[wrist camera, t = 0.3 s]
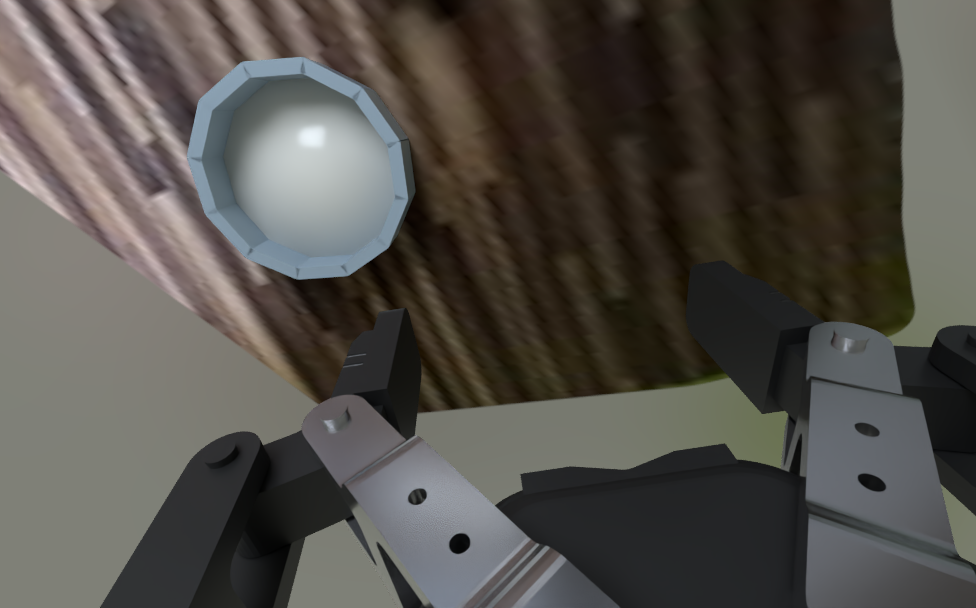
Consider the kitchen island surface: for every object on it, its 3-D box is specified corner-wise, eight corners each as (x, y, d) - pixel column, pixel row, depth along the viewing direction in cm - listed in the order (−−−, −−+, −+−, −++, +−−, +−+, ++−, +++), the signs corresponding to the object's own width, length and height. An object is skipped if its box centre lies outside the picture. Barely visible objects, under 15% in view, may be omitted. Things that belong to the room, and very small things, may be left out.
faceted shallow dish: (193, 74, 34) (158, 68, 30) (397, 57, 34) (387, 50, 30) (251, 269, 40) (227, 284, 36) (424, 257, 40) (418, 271, 36)
